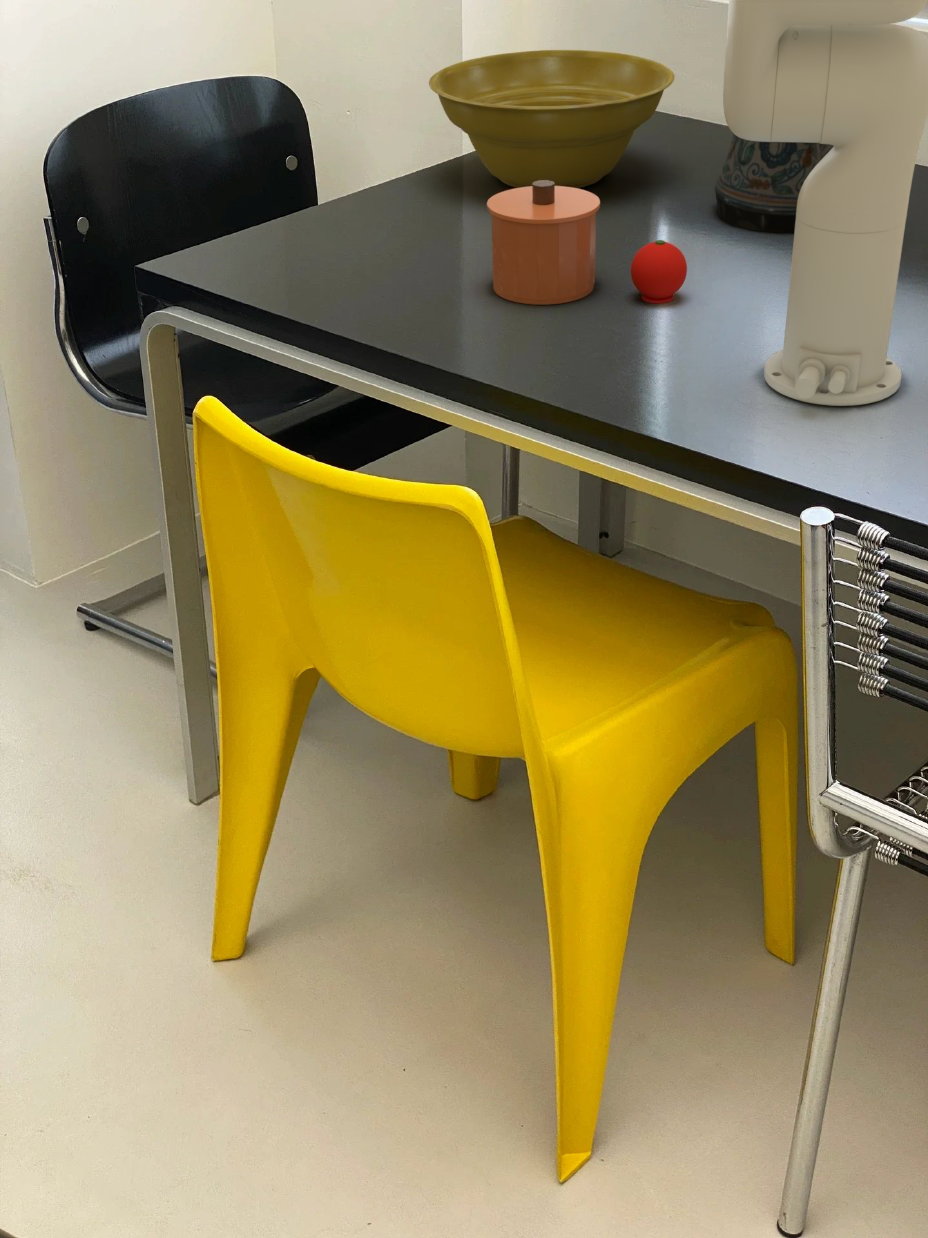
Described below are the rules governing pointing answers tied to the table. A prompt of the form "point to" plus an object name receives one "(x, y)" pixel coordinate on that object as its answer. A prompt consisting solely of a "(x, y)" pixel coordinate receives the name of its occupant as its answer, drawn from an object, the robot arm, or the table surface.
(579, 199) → the pot lid
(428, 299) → the table surface
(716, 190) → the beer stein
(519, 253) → the pot
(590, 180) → the planter bowl
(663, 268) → the tomato
